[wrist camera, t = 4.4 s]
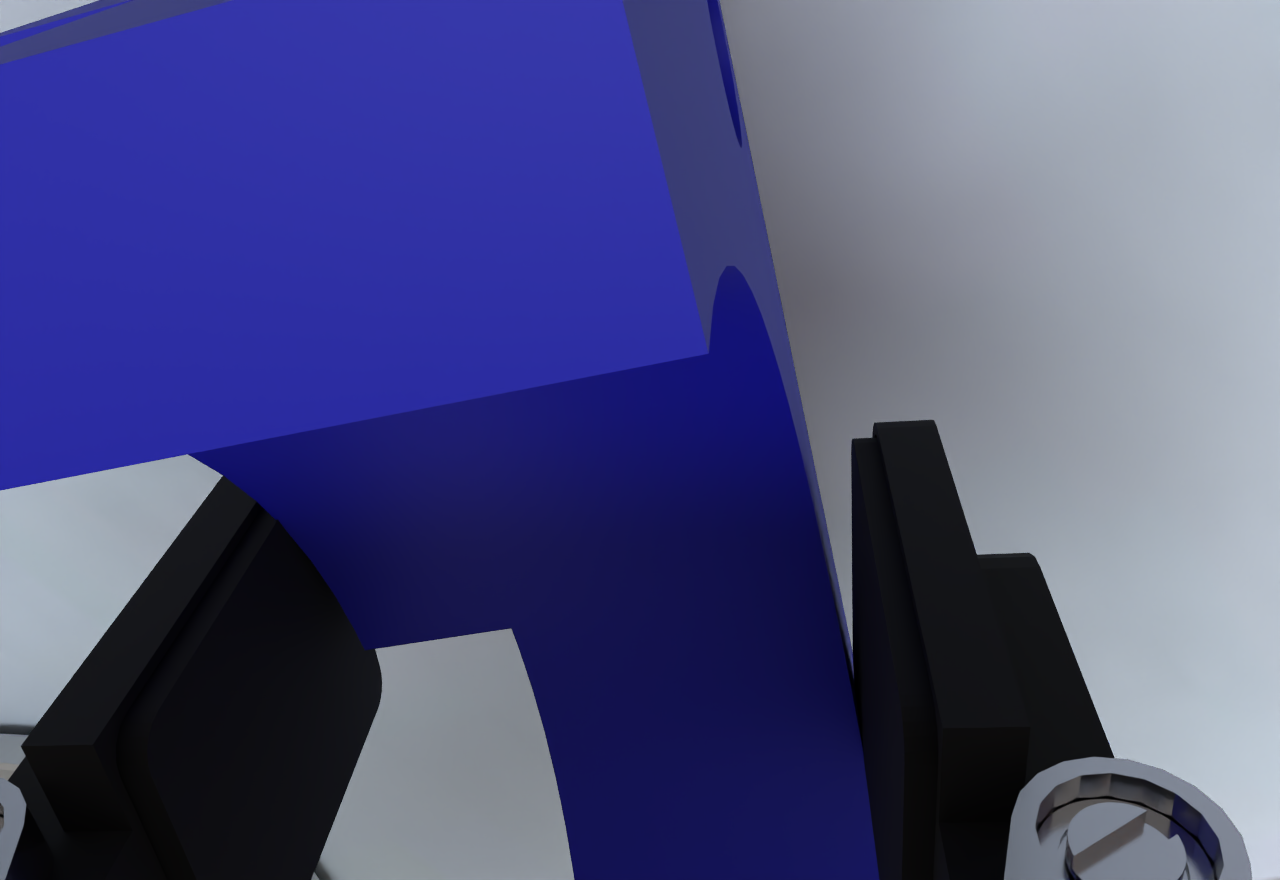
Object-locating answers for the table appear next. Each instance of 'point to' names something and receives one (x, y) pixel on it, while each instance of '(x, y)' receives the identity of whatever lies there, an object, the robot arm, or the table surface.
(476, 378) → the cable clip
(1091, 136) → the table surface
